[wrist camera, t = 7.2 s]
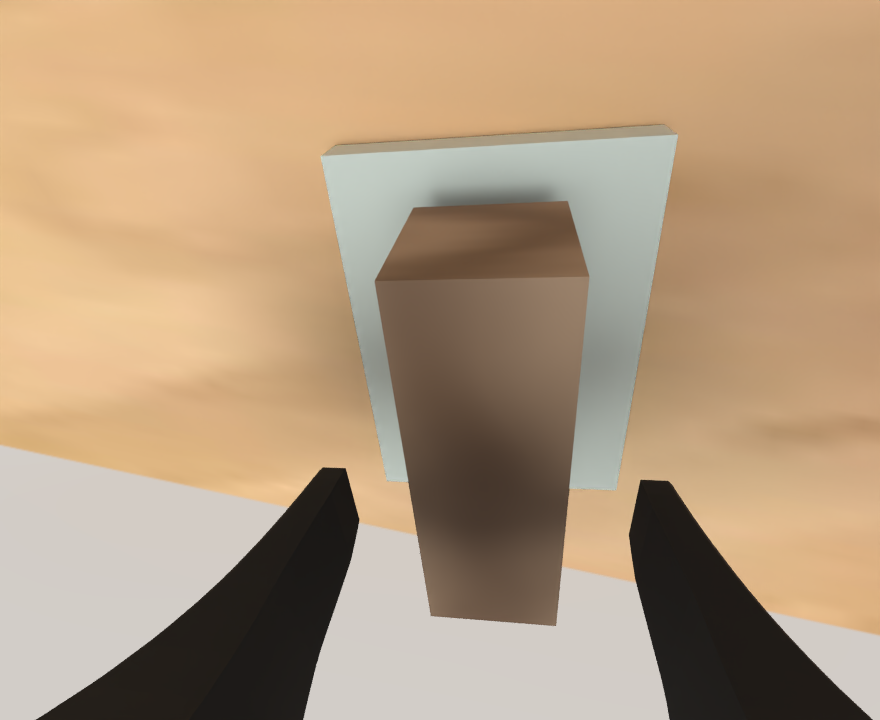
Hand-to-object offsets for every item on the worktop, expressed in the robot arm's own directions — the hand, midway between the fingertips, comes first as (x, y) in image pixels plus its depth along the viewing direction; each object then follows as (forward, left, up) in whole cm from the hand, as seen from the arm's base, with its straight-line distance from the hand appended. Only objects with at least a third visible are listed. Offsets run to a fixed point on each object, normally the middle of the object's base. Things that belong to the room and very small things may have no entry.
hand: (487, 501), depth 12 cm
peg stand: (0, 0, -8) cm, 8 cm away
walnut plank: (0, 0, -5) cm, 5 cm away
